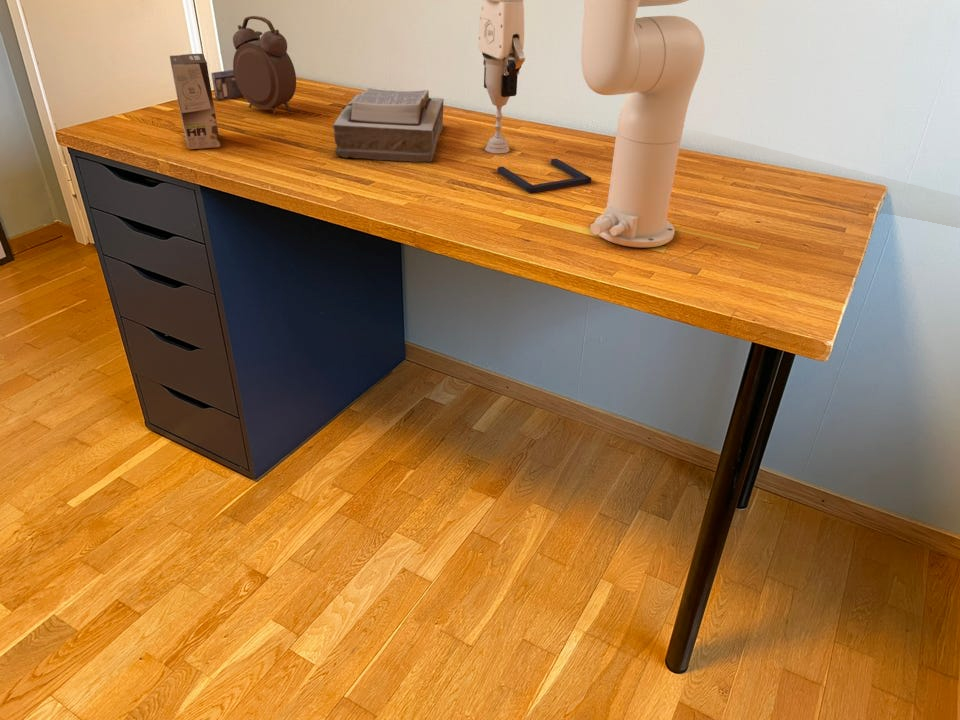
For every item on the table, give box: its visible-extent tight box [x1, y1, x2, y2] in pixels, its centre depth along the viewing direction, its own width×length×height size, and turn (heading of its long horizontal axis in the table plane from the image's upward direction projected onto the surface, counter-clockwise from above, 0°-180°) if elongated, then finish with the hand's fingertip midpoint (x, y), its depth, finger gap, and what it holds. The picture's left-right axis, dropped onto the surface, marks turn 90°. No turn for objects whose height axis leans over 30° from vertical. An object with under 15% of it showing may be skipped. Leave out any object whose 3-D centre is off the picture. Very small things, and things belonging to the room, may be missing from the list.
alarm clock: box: [232, 15, 297, 115], centre depth 164 cm, size 15×7×20 cm, turn 58°
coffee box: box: [169, 53, 221, 150], centre depth 145 cm, size 9×6×16 cm
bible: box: [332, 87, 445, 163], centre depth 150 cm, size 23×27×10 cm
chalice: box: [483, 54, 513, 154], centre depth 145 cm, size 7×7×18 cm
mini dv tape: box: [211, 69, 244, 101], centre depth 177 cm, size 8×2×6 cm, turn 130°
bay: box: [497, 158, 592, 194], centre depth 137 cm, size 12×13×1 cm
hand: (499, 91), depth 144 cm, fingers closed on chalice, 6 cm apart
